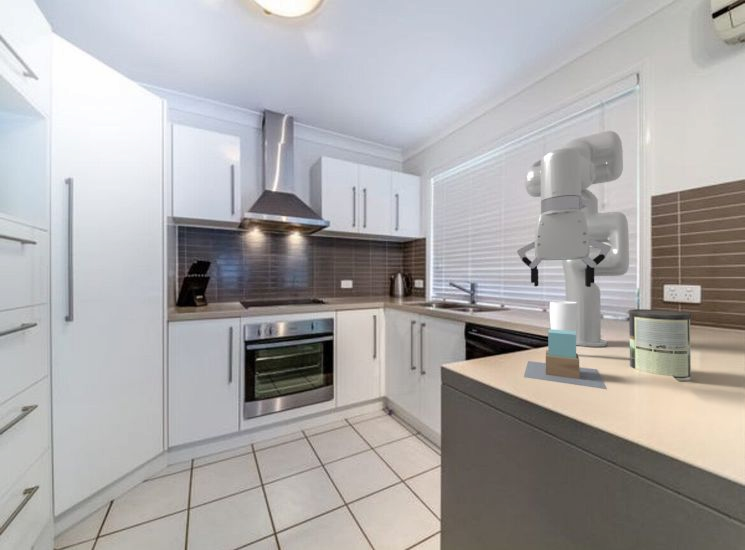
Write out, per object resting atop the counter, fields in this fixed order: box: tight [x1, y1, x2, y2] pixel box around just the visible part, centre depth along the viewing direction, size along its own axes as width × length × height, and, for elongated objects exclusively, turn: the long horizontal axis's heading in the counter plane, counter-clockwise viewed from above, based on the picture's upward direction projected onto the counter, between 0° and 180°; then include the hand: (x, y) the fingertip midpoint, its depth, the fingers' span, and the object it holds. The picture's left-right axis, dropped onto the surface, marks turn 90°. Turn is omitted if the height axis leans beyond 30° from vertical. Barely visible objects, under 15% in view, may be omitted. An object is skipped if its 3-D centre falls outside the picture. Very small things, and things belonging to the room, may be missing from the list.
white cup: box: [549, 300, 578, 339], centre depth 84 cm, size 7×7×15 cm
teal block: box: [547, 328, 577, 359], centre depth 67 cm, size 5×5×5 cm
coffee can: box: [628, 308, 692, 382], centre depth 69 cm, size 10×10×14 cm
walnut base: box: [545, 349, 580, 379], centre depth 67 cm, size 6×6×4 cm
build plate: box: [523, 360, 608, 390], centre depth 67 cm, size 14×14×1 cm
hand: (561, 286), depth 67 cm, fingers open, 9 cm apart
